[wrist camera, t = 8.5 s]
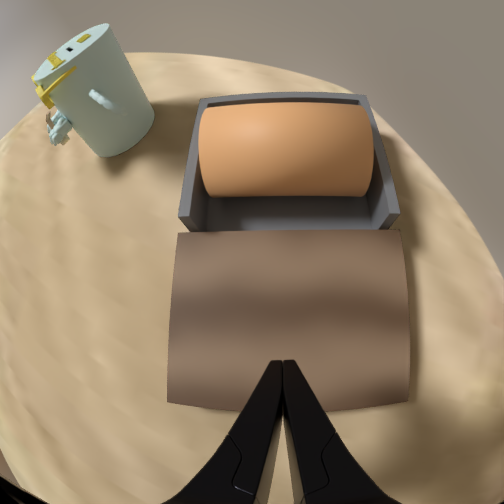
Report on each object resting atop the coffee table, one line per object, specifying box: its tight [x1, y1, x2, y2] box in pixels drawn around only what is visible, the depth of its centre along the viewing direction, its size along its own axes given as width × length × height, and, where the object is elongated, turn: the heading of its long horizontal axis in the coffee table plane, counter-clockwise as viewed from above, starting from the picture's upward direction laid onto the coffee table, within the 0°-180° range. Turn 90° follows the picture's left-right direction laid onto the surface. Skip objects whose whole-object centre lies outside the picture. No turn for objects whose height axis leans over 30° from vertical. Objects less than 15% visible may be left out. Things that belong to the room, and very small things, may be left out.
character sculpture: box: [31, 23, 155, 157], centre depth 22 cm, size 20×12×13 cm, turn 43°
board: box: [167, 229, 410, 411], centre depth 18 cm, size 12×16×2 cm
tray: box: [178, 92, 400, 232], centre depth 21 cm, size 12×15×4 cm
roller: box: [198, 102, 374, 198], centre depth 19 cm, size 11×7×7 cm, turn 88°
